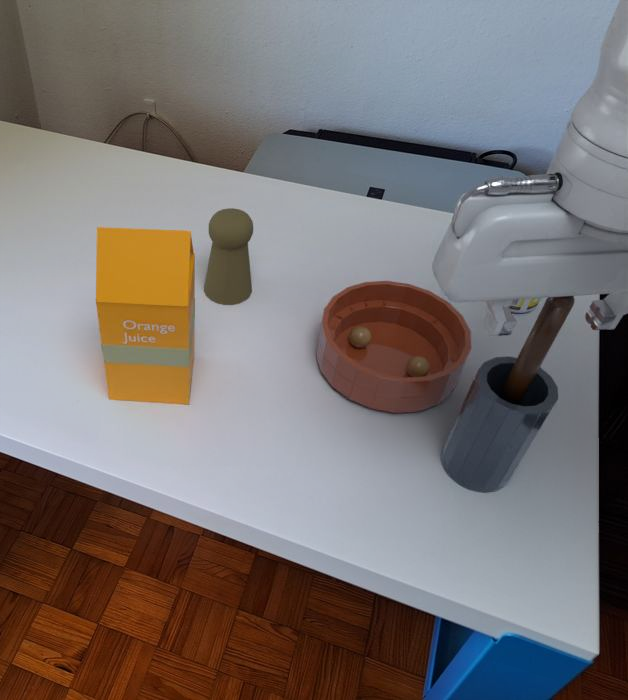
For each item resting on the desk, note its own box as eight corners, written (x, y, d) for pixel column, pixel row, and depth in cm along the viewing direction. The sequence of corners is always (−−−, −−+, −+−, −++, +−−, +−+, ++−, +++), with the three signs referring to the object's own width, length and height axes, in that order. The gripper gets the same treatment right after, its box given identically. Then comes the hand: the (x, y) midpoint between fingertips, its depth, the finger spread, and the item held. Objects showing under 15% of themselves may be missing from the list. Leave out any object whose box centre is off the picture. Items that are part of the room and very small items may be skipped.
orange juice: (119, 348, 79) (102, 202, 65) (195, 353, 78) (195, 206, 64) (108, 400, 74) (87, 254, 59) (189, 406, 73) (188, 258, 59)
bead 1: (366, 336, 79) (369, 321, 77) (371, 351, 77) (375, 336, 75) (345, 337, 79) (348, 322, 77) (350, 352, 77) (353, 337, 75)
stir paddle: (488, 452, 67) (578, 282, 51) (495, 467, 66) (590, 298, 50) (459, 454, 67) (541, 284, 51) (466, 469, 66) (552, 300, 50)
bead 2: (422, 365, 75) (428, 350, 73) (429, 382, 74) (435, 367, 72) (401, 367, 75) (406, 351, 73) (407, 383, 73) (412, 368, 72)
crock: (495, 436, 69) (538, 354, 60) (521, 490, 65) (572, 410, 56) (432, 439, 69) (466, 358, 60) (454, 494, 65) (494, 415, 56)
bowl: (430, 312, 82) (442, 277, 78) (477, 411, 71) (494, 376, 67) (304, 319, 82) (309, 284, 78) (332, 420, 71) (340, 385, 67)
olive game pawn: (217, 267, 89) (219, 195, 81) (260, 282, 87) (266, 209, 79) (195, 295, 85) (195, 222, 77) (238, 311, 83) (243, 237, 75)
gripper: (484, 208, 41) (427, 364, 51) (820, 190, 41) (698, 348, 51) (448, 154, 45) (402, 307, 55) (752, 137, 46) (652, 293, 56)
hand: (546, 327), depth 53 cm, fingers open, 7 cm apart
